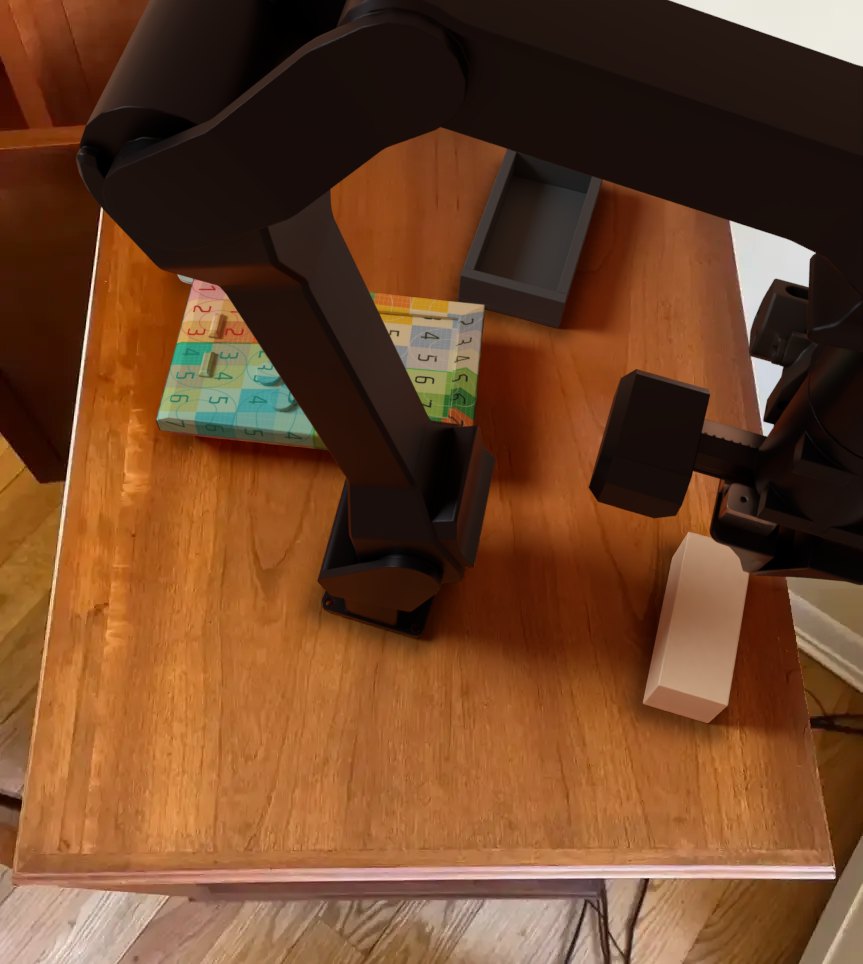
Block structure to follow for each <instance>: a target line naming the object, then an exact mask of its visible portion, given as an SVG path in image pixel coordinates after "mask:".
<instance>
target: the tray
mask: <svg viewBox="0 0 863 964" xmlns="http://www.w3.org/2000/svg"><path fill="white" fill-rule="evenodd" d="M603 181H604V180H602V179H599V178H596V177H593V176H590V175H587V174H584V173H581V172H577V171H574V170H571V169H568V168H565V167H562V166H559V165H556V164H553V163H550V162H546V161H543V160H540V159H537V158H534V157H531V156H528V155H525V154H522V153H519V152H516V151H512V150H509V149H505V153H504V156H503V158H502V162H501V164H500V166H499V170H498V172H497V175H496V177H495V180H494V182H493V185H492V188H491V191H490V194H489V195H488V196H489V197H488V199H487V202H486V205H485V207H484V210H483V211H482V212H483V213H482V215H481V218H480V221H479V223H478V227H477V228H476V232H475V234H474V237H473V240H472V242H471V245H470V248H469V251H468V253H467V256H466V259H465V262H464V264H463V267H462V269H461V273H460V276H459V283H458V284H459V286H458V293H457V302H462V303H471V304H481V305H486V306H485V310H489V311H492V312H496V313H500V314H504V315H507V316H509V317H514V318H518V319H522V320H525V321H530V322H533V323H537V324H541V325H545V326H548V327H552V328H555V329H559V328H560V327H561V323H562V318H563V315H564V312H565V309H566V306H567V303H568V299H569V296H570V292H571V290H572V289H571V288H572V285H573V282H574V279H575V275H576V273H577V269H578V265H579V261H580V259H581V256H582V252H583V249H584V246H585V242H586V239H587V236H588V233H589V229H590V226H591V222H592V219H593V215H594V212H595V209H596V207H597V206H596V205H597V203H598V199H599V196H600V192H601V189H602V186H603V185H602V184H603Z"/></svg>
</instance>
